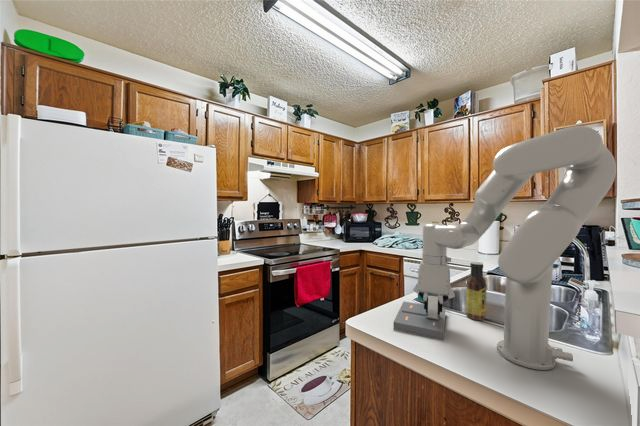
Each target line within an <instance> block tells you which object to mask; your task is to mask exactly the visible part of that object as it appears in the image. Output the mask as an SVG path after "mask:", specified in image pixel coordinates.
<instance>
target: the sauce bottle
mask: <svg viewBox="0 0 640 426" xmlns="http://www.w3.org/2000/svg"><path fill="white" fill-rule="evenodd" d="M469 264H470V275H469V277H468V278H467V280H466V292H465V295H466V298H465V299H466V301H465V311H466V317H468V318H470V320H471V319H472V320H476V321H484V320H485V319H486V315H487V313H486V312H487V284H486V280H485V278H484V274H483V273H484V272H483V271H484V270H483V269H484V263H482V262H475V261H471V262H470V263H469Z"/></svg>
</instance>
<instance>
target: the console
mask: <svg viewBox="0 0 640 426" xmlns="http://www.w3.org/2000/svg"><path fill="white" fill-rule="evenodd" d="M426 314H427V313H426V309H424V304H421V303H415V302H410V301H402V303H401V306H400V308H399V310H398V312H397V314H396V316H395V318H394V320H393V330H395V331H399V332H403V333H408V334H413V335H419V336H423V337H427V338H432V339H436V340H441V341H444V340H445V339H444V338H445V325H446V324H445V323H446V308H444V307H442V312H440V315H439V320H437V319H432V318H426Z"/></svg>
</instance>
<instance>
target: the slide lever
mask: <svg viewBox="0 0 640 426" xmlns="http://www.w3.org/2000/svg"><path fill="white" fill-rule="evenodd" d="M438 301H439V294H433V293H429V294H428V313H427V314H426V318H432V319H437V320H439V315H438Z"/></svg>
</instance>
